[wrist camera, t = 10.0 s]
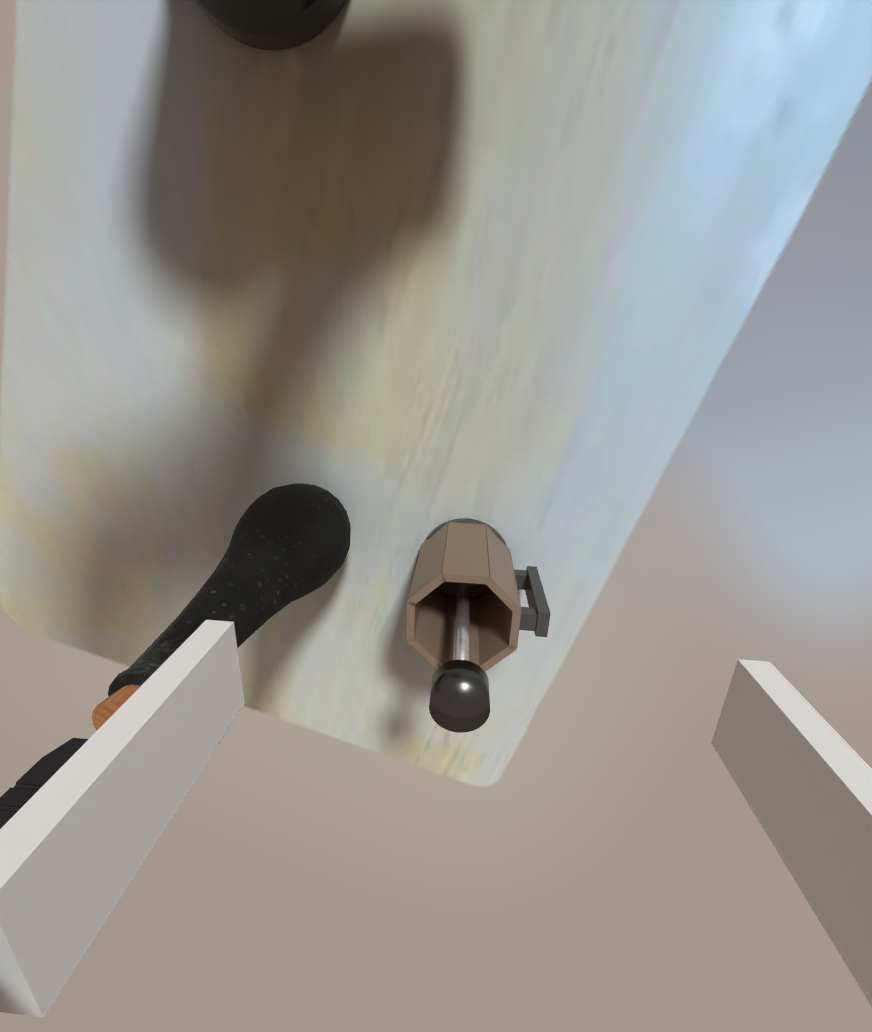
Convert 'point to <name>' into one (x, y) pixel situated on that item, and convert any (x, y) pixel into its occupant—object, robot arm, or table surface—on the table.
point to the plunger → (460, 672)
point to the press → (492, 615)
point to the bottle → (253, 576)
